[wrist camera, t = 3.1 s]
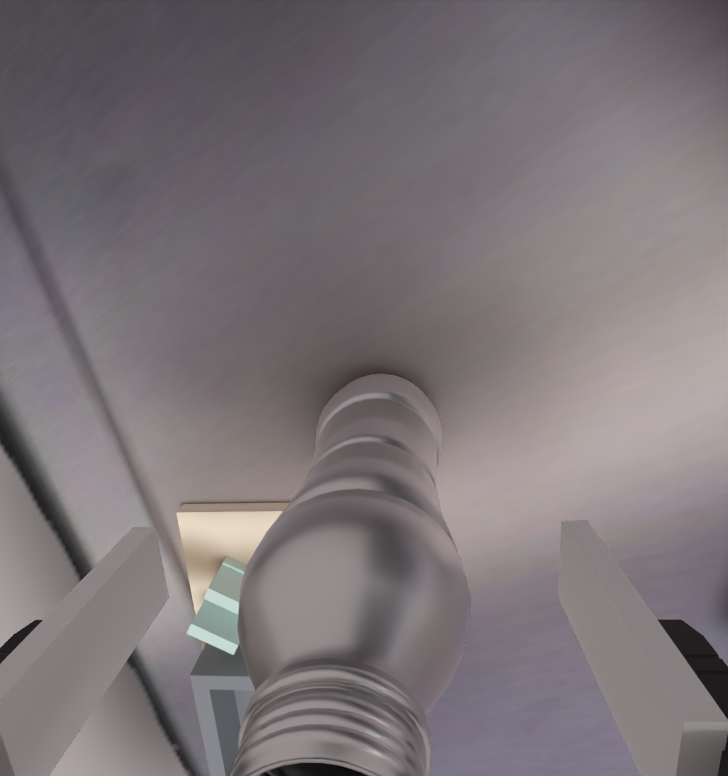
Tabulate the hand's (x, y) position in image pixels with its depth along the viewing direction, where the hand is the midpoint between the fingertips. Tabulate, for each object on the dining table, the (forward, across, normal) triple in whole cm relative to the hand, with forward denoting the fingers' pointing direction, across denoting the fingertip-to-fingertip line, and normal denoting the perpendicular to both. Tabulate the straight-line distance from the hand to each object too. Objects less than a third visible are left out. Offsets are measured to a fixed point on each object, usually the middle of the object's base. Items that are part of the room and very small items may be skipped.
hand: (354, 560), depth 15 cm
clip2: (+12, -9, -10) cm, 18 cm away
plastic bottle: (+12, 0, 0) cm, 13 cm away
